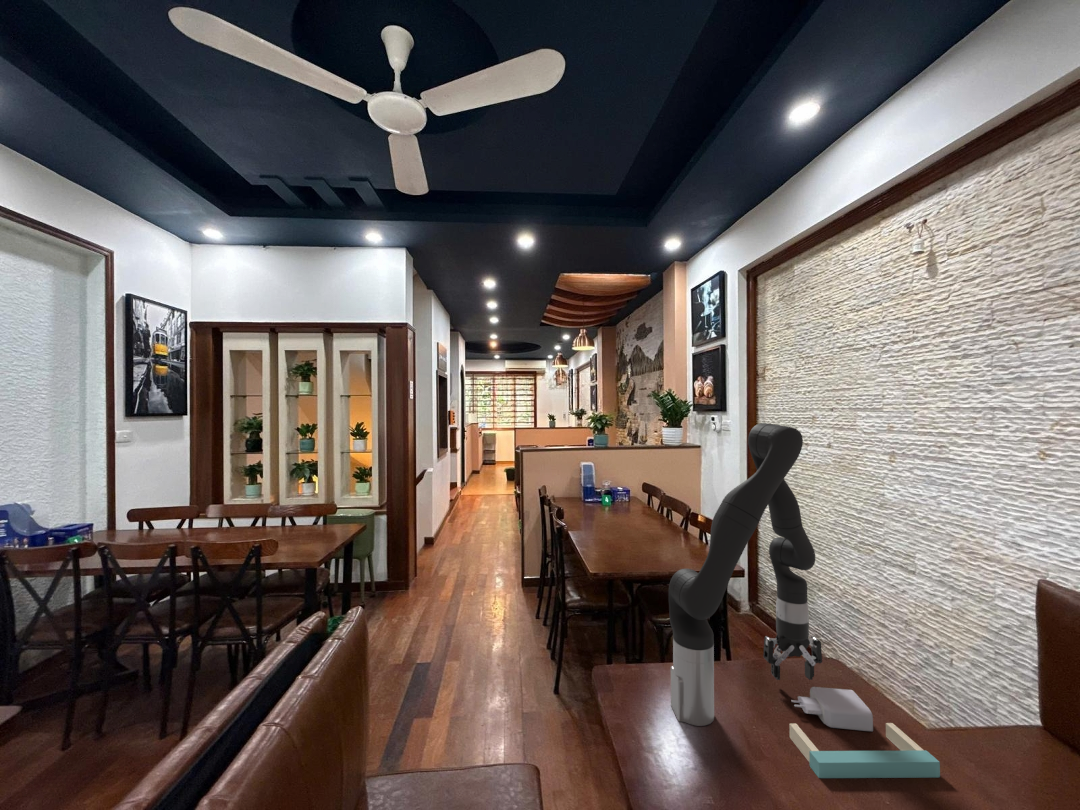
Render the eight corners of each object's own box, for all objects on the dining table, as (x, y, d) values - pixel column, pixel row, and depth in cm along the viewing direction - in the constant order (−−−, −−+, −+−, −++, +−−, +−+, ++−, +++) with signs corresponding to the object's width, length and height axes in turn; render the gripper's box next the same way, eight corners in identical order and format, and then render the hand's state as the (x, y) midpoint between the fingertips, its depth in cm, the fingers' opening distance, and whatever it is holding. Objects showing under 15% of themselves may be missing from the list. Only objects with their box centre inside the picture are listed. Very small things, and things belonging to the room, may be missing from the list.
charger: (785, 701, 111) (851, 707, 108) (801, 727, 102) (873, 734, 99) (785, 682, 111) (850, 687, 109) (801, 706, 102) (873, 712, 99)
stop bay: (819, 778, 87) (818, 762, 87) (787, 737, 98) (787, 723, 98) (940, 777, 87) (939, 761, 87) (894, 736, 98) (894, 723, 98)
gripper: (773, 622, 113) (773, 687, 113) (828, 622, 113) (829, 686, 113) (758, 609, 120) (758, 670, 120) (809, 609, 121) (810, 669, 120)
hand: (792, 678), depth 117 cm, fingers open, 8 cm apart
